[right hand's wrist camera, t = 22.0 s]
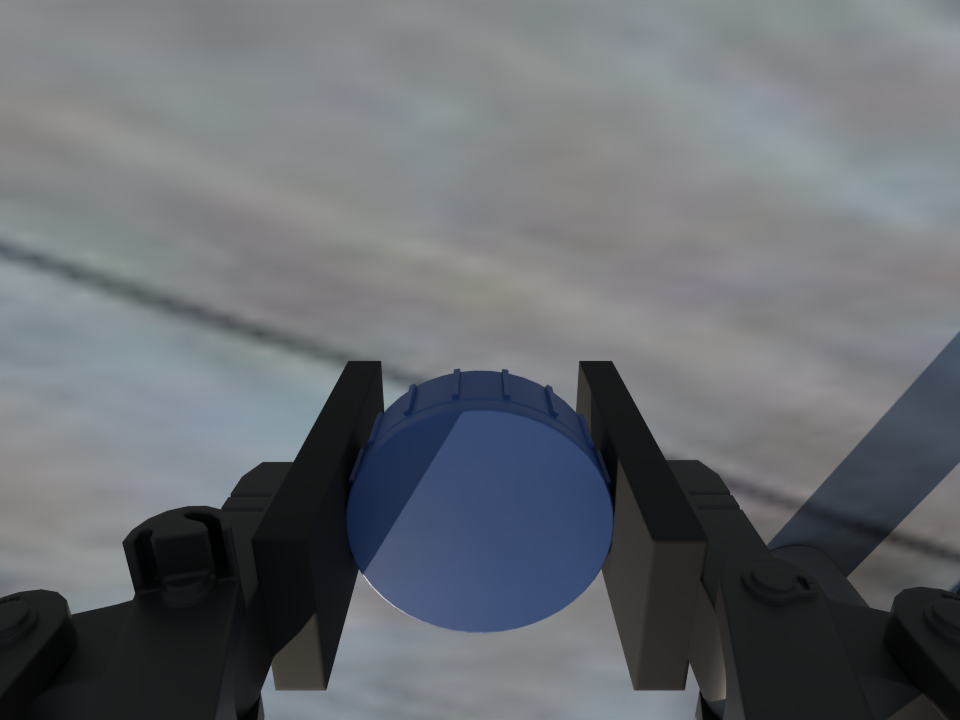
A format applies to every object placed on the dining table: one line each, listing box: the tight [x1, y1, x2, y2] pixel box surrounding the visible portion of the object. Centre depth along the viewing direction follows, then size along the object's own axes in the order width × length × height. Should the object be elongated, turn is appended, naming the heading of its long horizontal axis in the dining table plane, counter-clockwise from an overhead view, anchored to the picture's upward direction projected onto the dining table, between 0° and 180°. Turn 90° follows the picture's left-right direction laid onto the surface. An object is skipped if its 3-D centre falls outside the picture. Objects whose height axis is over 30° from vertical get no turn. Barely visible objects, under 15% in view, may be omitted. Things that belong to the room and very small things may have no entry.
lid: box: [346, 369, 614, 633], centre depth 11 cm, size 5×5×2 cm
